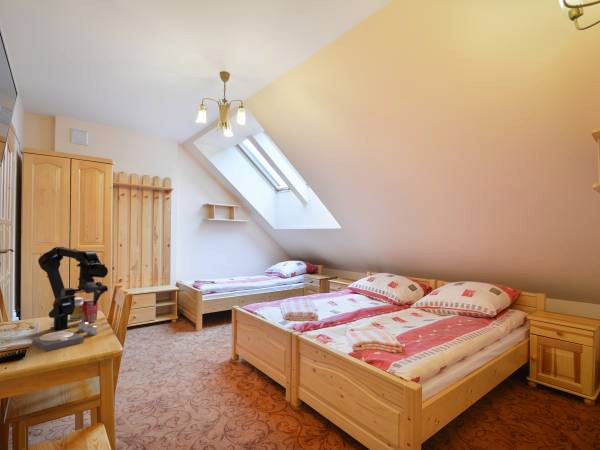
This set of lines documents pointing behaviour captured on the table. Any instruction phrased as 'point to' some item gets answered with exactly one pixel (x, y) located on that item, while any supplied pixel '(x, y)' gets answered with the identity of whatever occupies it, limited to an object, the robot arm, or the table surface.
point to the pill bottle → (77, 310)
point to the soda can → (89, 311)
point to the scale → (57, 340)
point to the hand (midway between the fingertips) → (84, 307)
